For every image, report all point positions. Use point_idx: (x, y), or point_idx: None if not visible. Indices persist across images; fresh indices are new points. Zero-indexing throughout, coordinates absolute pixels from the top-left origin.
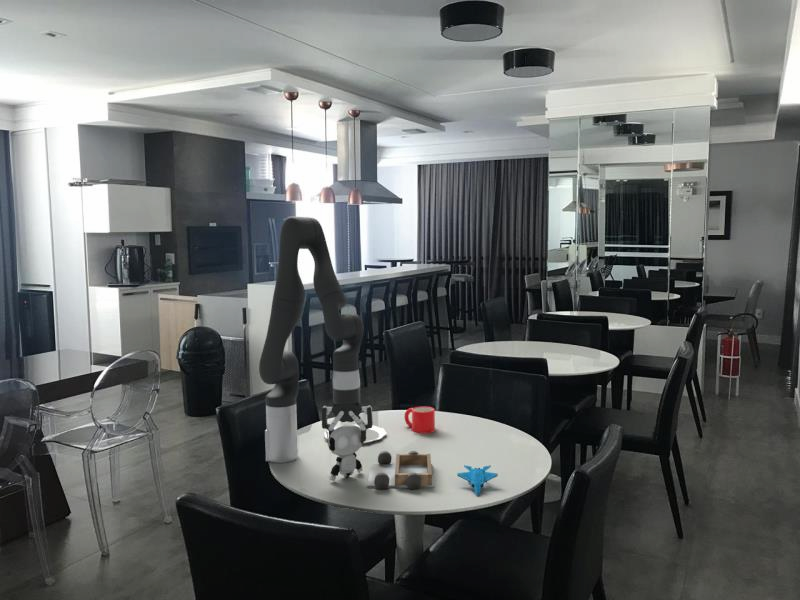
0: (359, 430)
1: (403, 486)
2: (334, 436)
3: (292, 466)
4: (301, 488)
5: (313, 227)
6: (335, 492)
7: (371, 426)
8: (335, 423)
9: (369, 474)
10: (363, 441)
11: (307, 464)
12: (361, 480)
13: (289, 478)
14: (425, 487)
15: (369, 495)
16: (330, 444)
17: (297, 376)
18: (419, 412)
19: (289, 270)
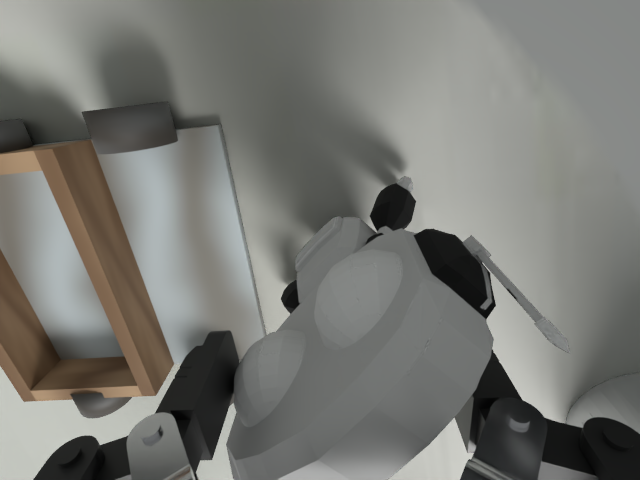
0: (237, 447)
1: (57, 142)
2: (446, 303)
3: (588, 335)
4: (546, 83)
5: None
6: (362, 44)
7: (57, 455)
8: (482, 478)
9: (245, 258)
10: (209, 343)
11: (524, 356)
12: (270, 210)
13: (607, 209)
14: None
15: (180, 19)
16: (463, 245)
17: None
18: None
19: None
